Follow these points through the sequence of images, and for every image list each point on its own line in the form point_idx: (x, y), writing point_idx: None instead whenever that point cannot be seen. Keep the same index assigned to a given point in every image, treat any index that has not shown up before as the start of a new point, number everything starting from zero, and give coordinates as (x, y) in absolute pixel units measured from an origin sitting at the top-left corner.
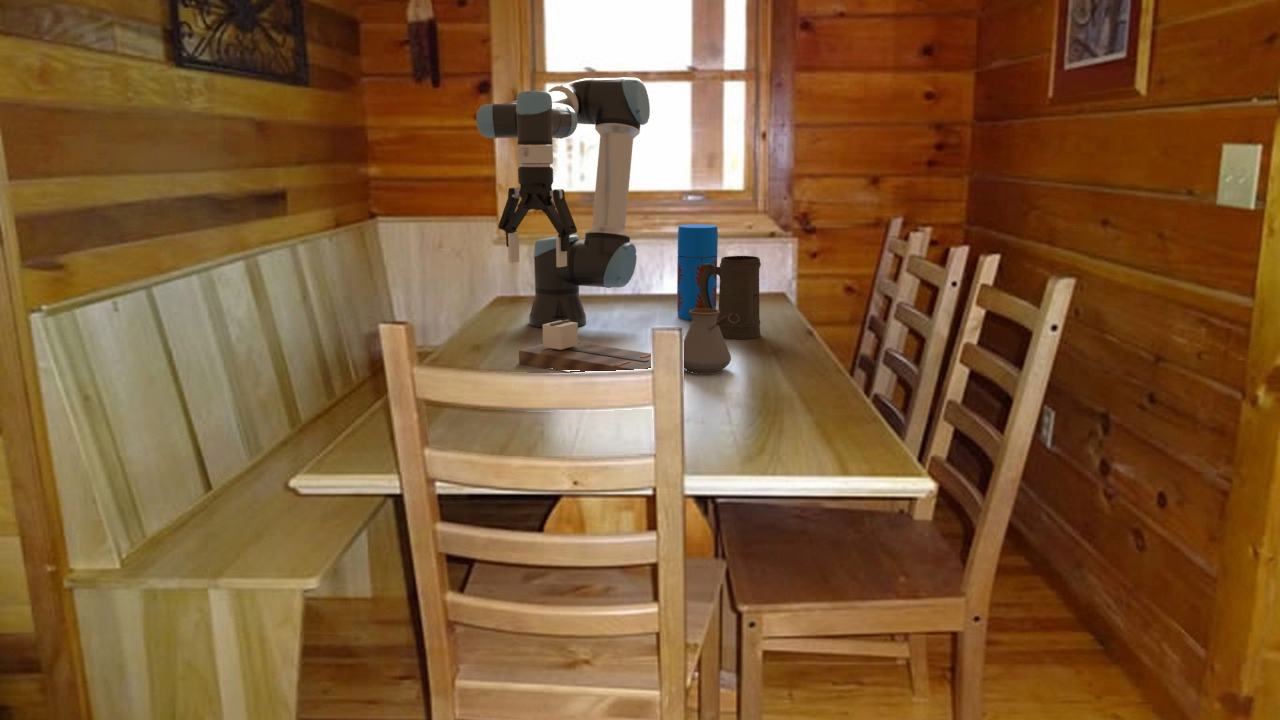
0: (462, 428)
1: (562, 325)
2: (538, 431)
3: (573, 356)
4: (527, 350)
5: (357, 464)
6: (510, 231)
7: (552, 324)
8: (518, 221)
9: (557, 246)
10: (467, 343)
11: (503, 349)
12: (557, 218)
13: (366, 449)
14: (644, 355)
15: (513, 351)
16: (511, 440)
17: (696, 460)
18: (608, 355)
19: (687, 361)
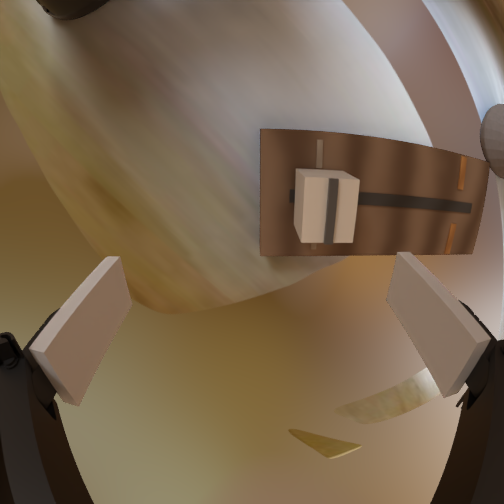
0: (362, 411)
1: (347, 227)
2: (414, 387)
3: (373, 238)
4: (275, 247)
5: (341, 448)
6: (50, 395)
7: (331, 244)
8: (57, 454)
9: (429, 358)
10: (74, 185)
11: (150, 176)
12: (491, 467)
13: (329, 443)
14: (460, 178)
15: (177, 177)
16: (403, 403)
17: None
18: (421, 207)
19: (501, 177)
